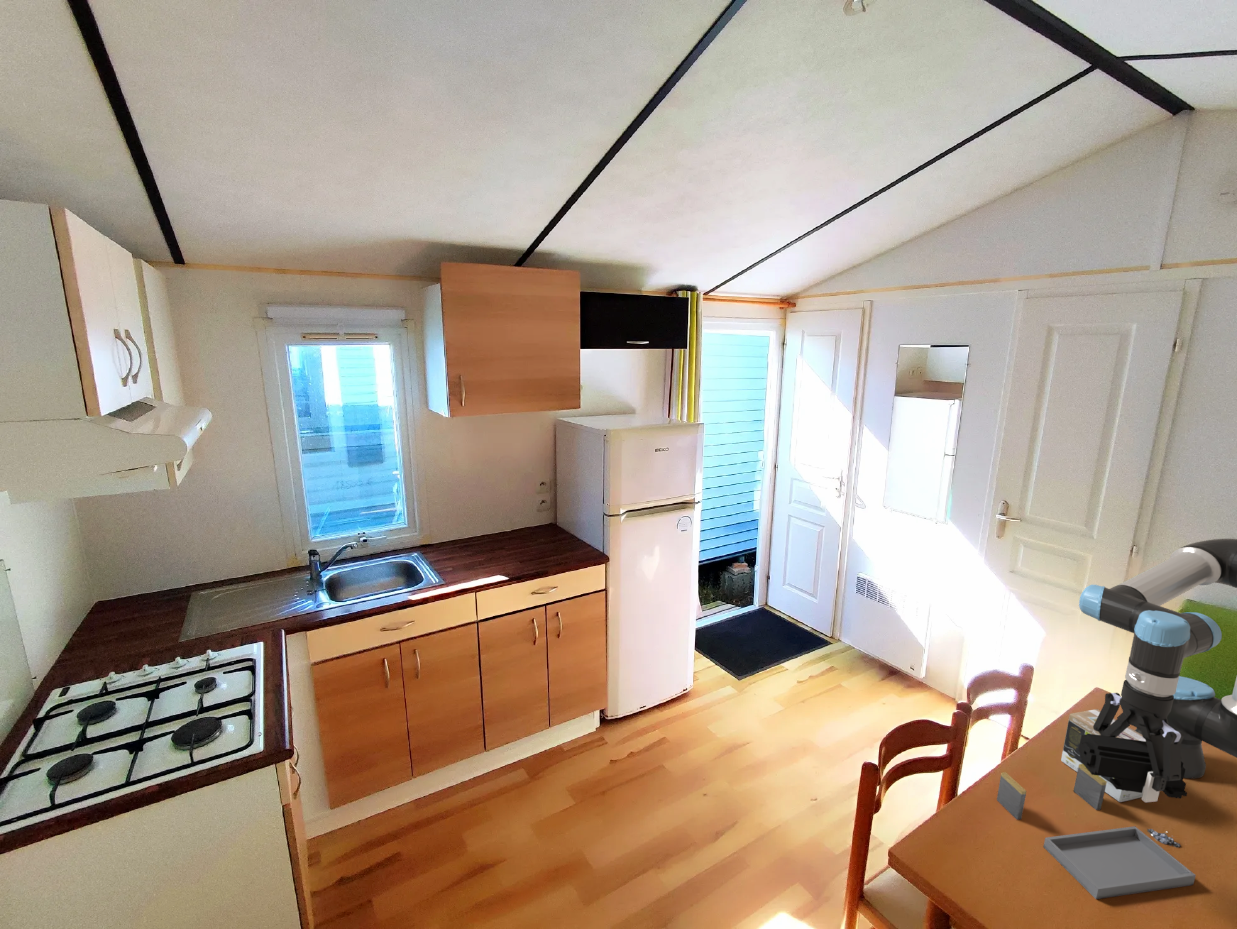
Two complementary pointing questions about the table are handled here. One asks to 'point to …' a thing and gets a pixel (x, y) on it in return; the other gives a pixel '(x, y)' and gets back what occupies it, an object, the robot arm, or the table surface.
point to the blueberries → (1163, 838)
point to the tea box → (1084, 725)
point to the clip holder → (1085, 787)
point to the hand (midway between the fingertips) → (1126, 783)
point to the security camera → (1123, 763)
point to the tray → (1118, 862)
